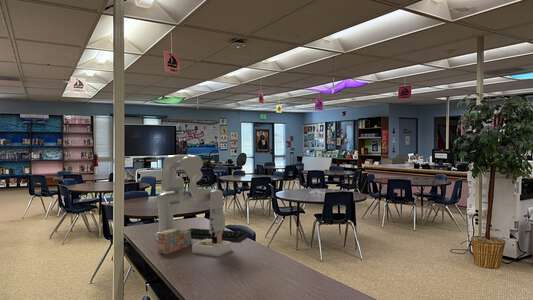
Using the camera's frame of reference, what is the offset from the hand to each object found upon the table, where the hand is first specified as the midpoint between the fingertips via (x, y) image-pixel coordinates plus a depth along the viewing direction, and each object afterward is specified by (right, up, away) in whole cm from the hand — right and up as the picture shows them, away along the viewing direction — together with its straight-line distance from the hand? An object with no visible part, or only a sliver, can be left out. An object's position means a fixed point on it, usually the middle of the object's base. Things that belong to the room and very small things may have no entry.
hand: (217, 241), depth 213 cm
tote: (-3, -6, +2) cm, 7 cm away
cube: (-7, -5, +4) cm, 10 cm away
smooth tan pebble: (0, -1, 0) cm, 1 cm away
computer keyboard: (-8, -7, +37) cm, 38 cm away
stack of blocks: (-27, -7, +9) cm, 29 cm away
